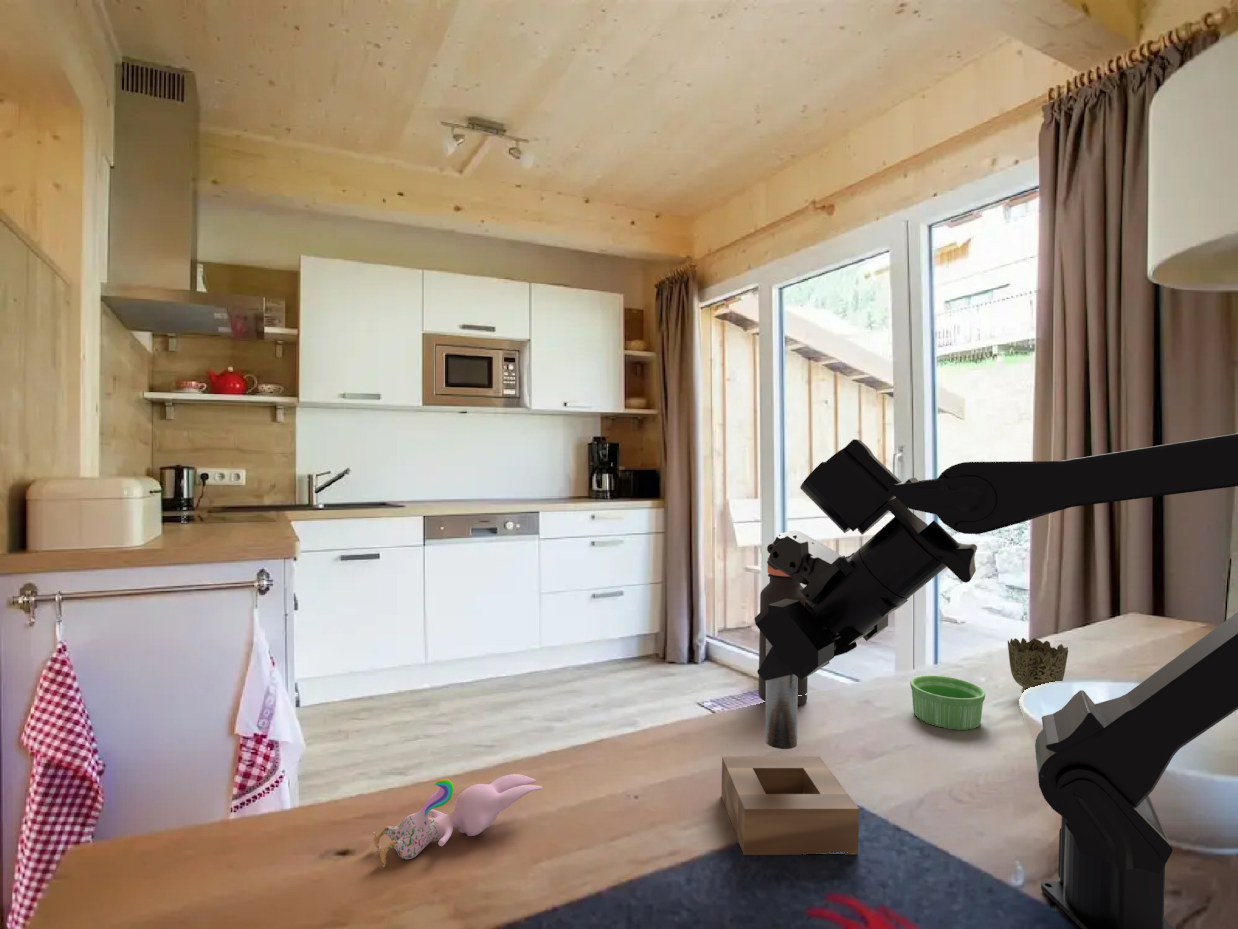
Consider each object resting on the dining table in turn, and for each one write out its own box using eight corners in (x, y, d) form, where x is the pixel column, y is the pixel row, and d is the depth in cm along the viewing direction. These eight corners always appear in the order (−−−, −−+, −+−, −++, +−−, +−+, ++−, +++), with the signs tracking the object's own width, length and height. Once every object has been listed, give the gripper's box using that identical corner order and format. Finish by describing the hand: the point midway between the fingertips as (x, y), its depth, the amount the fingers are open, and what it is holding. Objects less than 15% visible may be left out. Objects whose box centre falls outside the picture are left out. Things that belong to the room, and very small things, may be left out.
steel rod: (801, 749, 63) (801, 612, 63) (769, 749, 63) (770, 612, 63) (792, 736, 66) (793, 605, 66) (762, 736, 66) (763, 605, 66)
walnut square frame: (858, 854, 58) (859, 808, 58) (743, 855, 57) (744, 809, 57) (819, 795, 68) (819, 756, 68) (721, 795, 67) (722, 756, 67)
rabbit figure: (390, 896, 54) (556, 815, 61) (378, 827, 53) (547, 754, 61) (373, 856, 59) (527, 786, 67) (362, 792, 58) (519, 730, 66)
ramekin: (895, 709, 92) (895, 677, 92) (949, 704, 94) (950, 673, 94) (942, 736, 83) (943, 701, 83) (1001, 729, 86) (1002, 695, 85)
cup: (994, 693, 99) (995, 639, 98) (1030, 687, 101) (1031, 635, 101) (1042, 711, 92) (1043, 653, 91) (1079, 705, 94) (1080, 649, 94)
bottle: (817, 702, 94) (820, 560, 93) (780, 710, 90) (783, 563, 90) (784, 687, 100) (787, 553, 99) (748, 694, 96) (751, 556, 96)
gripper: (857, 500, 69) (760, 592, 76) (777, 509, 55) (666, 622, 62) (938, 584, 64) (827, 675, 71) (873, 620, 50) (742, 729, 57)
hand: (768, 672), depth 66 cm, fingers closed on steel rod, 3 cm apart
